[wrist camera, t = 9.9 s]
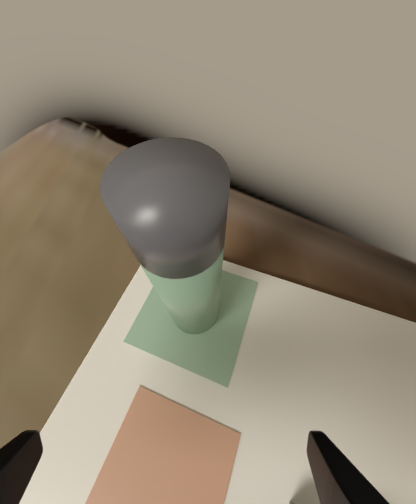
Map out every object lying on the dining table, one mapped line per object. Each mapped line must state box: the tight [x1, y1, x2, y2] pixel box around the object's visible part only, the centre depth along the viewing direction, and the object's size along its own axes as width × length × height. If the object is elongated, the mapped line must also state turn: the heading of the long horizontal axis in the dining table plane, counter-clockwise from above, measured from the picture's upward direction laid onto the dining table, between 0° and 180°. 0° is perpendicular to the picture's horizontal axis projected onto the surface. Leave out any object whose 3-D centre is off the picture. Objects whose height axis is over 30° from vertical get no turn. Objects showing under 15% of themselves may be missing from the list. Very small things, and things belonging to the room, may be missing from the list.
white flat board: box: [19, 260, 416, 504], centre depth 14 cm, size 20×22×3 cm
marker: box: [100, 138, 230, 334], centre depth 12 cm, size 4×4×13 cm
